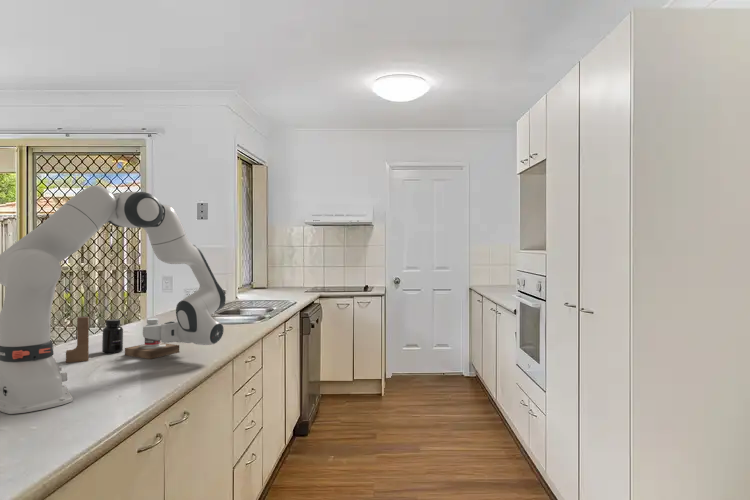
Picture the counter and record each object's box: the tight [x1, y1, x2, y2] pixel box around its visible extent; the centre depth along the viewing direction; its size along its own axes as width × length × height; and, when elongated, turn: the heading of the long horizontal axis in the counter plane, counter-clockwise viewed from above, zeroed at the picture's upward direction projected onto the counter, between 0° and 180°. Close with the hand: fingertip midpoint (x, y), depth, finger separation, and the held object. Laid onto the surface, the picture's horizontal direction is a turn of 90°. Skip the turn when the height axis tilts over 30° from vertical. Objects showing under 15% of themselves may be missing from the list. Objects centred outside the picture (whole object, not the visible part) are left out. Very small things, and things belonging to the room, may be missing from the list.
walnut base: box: [124, 342, 180, 360], centre depth 185 cm, size 13×13×3 cm
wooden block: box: [65, 316, 90, 364], centre depth 173 cm, size 7×3×15 cm, turn 118°
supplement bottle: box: [101, 318, 124, 355], centre depth 187 cm, size 7×7×12 cm
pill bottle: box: [144, 317, 161, 347], centre depth 185 cm, size 5×5×10 cm
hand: (155, 326), depth 185 cm, fingers open, 8 cm apart
